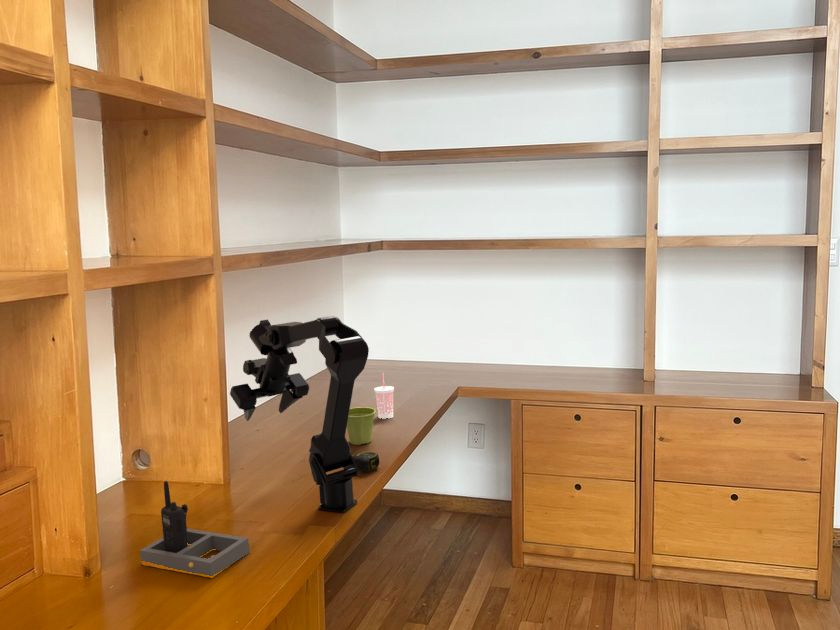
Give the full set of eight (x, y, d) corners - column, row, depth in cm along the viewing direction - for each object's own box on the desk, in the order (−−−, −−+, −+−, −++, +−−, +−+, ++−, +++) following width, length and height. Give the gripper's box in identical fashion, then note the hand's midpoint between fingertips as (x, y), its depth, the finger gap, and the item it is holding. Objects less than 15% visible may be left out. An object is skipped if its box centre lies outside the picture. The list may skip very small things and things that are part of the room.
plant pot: (382, 437, 219) (380, 407, 218) (371, 447, 210) (369, 416, 209) (351, 436, 222) (349, 406, 221) (338, 446, 213) (336, 415, 212)
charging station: (249, 553, 149) (248, 538, 149) (210, 580, 139) (208, 564, 138) (181, 541, 156) (180, 527, 156) (139, 566, 146) (137, 551, 145)
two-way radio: (162, 556, 150) (154, 481, 148) (183, 548, 153) (176, 474, 151) (176, 564, 146) (168, 487, 144) (198, 556, 149) (190, 480, 147)
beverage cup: (396, 413, 243) (394, 369, 242) (394, 419, 237) (391, 374, 236) (377, 414, 244) (374, 370, 242) (374, 419, 238) (371, 374, 236)
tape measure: (346, 471, 193) (345, 456, 193) (365, 463, 199) (364, 448, 198) (366, 476, 189) (365, 461, 188) (385, 467, 194) (384, 453, 194)
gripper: (294, 340, 194) (281, 387, 202) (225, 352, 182) (214, 401, 191) (317, 369, 188) (302, 416, 196) (246, 383, 176) (234, 432, 184)
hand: (263, 415), depth 192 cm, fingers open, 9 cm apart
